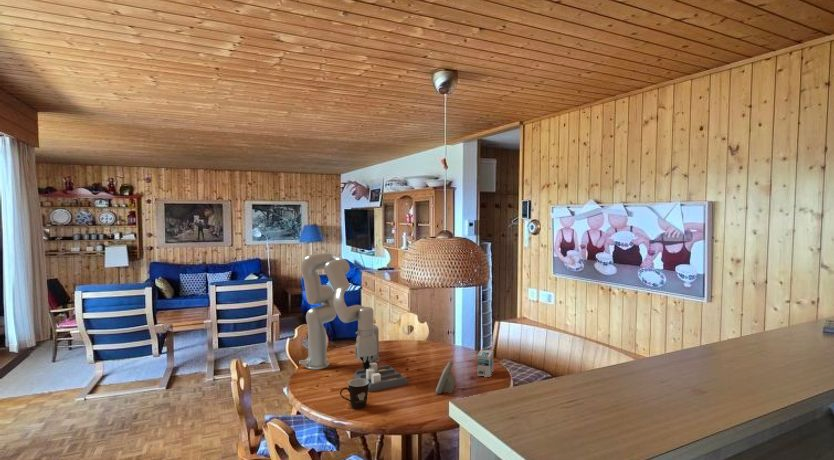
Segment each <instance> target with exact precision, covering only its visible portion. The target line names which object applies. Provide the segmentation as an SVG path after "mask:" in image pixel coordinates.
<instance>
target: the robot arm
mask: <svg viewBox="0 0 834 460" xmlns="http://www.w3.org/2000/svg"><path fill="white" fill-rule="evenodd" d="M350 268H351V267H350V264H349V262H348V261H347V260H346V259H344V258H343V257H340V256H338V255H335V254H333V253H330V252H329V253H328V252H324V253H313V254H309V255H306V256H305V257H304V258H303V260H301V264H300V271H301V274H302V277H303V281H304V282H303V283H304V289H305V290H304V291H305V297H306V301H307V303H308V304H309V305H311V306H312V305H319V304H321V305H319V306H315V307H311V308H309V310H307V312H306V315H305V320H306V324H307V325H306V326H307V353H308V355H307V356H306V358H305V359H300V360H299V361H298V363H299V365H303V366H305V368H306V369H308V370H313V371H315V370H322V369H325V368H328V367H329V366H330V361H329V360H328V359H327V330H326V327H325V326H324V324H326V323H329V322H332V321H334V320H335V319H336V317H338V319H339V320H340V321H341V322H342V323H344V324H348V323H351V322H355V321H357V323H358V324H357V331H355V335H357V336H356V341H355V359H356V360H360V361H362V369H365V370H366V369H369V367H370V361H371V359H372V358H373V357H375V356H377V342H376V336H375V334H374V325H375V324H374V323H375V322H374V315H375V314H374V312H375V311H374V309H373V308H372V307H370V306H364V305H361V304H353V305H351V306H347V304H346V302H345V296H344V295H345V292H346V291H347V290H348V289H349V288H350V282H349V281H348V279H347V277H346V275H347V274H348V273H349V272H350ZM319 270H324V272H325V274H326V277H327V279H328V281H329V283H330V285H331V286H330V285H328V284H322V283H321V281H322V280H321V277H320V274H319V273H318V272H317V271H319ZM365 357H367V358H365Z"/></svg>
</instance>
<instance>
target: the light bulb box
mask: <svg viewBox="0 0 834 460" xmlns="http://www.w3.org/2000/svg"><path fill="white" fill-rule="evenodd" d="M476 366H477V371H476V372H477V377H479V376H484V377H483V378H487V377H490V376H491V377H492V375H493V373H494V350H490V349H489V350H488V349H480V350H479V352H478V354H477V363H476ZM492 372H493V373H492ZM491 374H492V375H491ZM491 377H490V378H491Z"/></svg>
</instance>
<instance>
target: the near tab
mask: <svg viewBox="0 0 834 460" xmlns="http://www.w3.org/2000/svg"><path fill="white" fill-rule="evenodd" d="M377 382H381V375H380V374H379V373H374V374H371V383H377Z"/></svg>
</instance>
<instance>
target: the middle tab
mask: <svg viewBox="0 0 834 460" xmlns="http://www.w3.org/2000/svg"><path fill="white" fill-rule="evenodd" d="M374 373H375V370H374V369H373V368H371V369H366V378H367V379H370V378H371V374H374Z"/></svg>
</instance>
